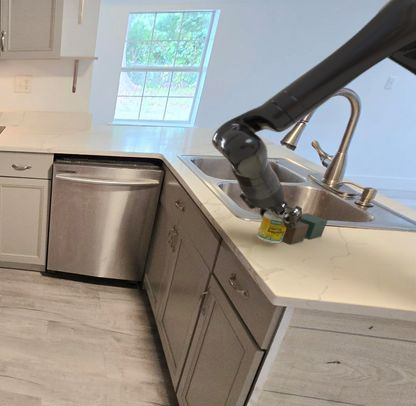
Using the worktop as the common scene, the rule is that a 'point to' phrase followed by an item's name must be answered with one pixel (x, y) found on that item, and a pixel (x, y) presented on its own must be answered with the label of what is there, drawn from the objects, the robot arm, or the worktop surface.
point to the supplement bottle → (271, 228)
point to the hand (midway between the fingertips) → (279, 221)
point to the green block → (313, 225)
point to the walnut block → (295, 233)
